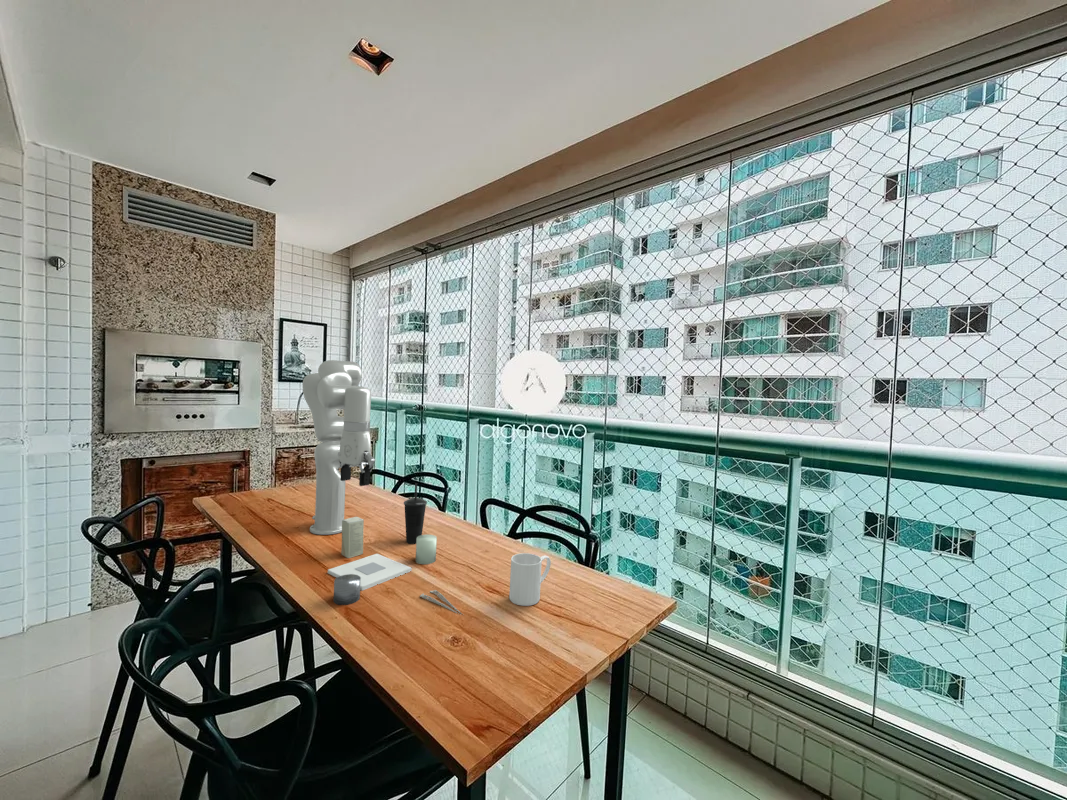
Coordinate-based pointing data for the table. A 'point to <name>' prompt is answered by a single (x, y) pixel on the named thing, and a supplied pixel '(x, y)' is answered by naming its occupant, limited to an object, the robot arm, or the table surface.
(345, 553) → the box
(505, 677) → the table surface
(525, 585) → the mug
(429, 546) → the pale green capsule
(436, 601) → the tweezers
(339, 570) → the white square plate
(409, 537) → the drinking cup
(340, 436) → the robot arm
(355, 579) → the dark tin
